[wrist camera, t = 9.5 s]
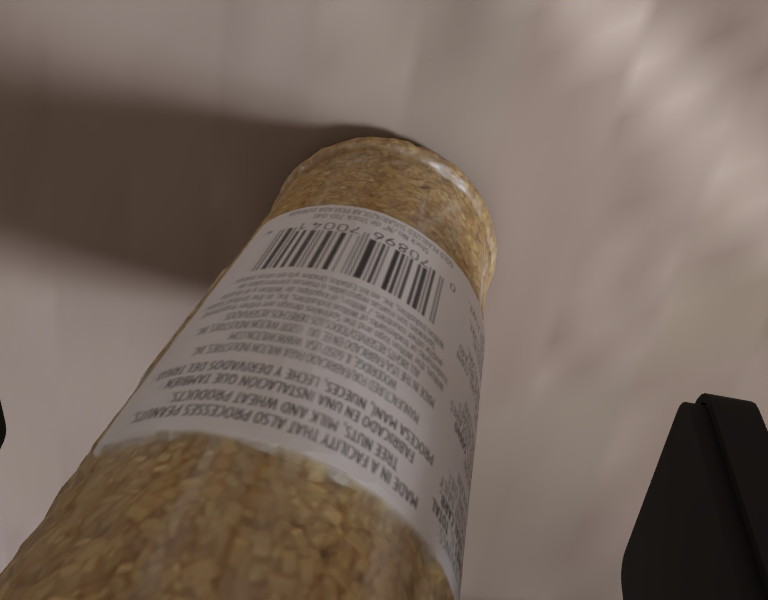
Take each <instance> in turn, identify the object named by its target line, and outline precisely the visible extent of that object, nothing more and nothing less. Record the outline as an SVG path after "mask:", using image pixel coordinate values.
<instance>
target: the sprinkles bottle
mask: <svg viewBox="0 0 768 600" xmlns="http://www.w3.org/2000/svg"><path fill="white" fill-rule="evenodd" d="M496 256H497V240H496V237H495V233H494V228H493V223H492V219H491V216H490V213H489V211H488V209H487V207H486V205H485V203H484V200H483V198H482V197H481V195H480V193H479V192H478V191H477V190H476V189H475V187H474V186H473V184H472V183H471V181H470V180H469V179H468V178H467V177H466V176H465V175H464V173H463V172H462V171H461V170H460V169H459V168H458V167H457V166H456V165H454V164H453V163H451V162H449V161H448V160H446V159H444V158H443V157H441V156H440V155H438V154H437V153H435V152H433V151H431V150H429V149H427V148H424V147H419V146H415V145H414V144H413V143H411V142H409V141H404V140H400V139H395V138H381V137H358V138H354V139H351V140H347V141H343V142H340V143H337V144H335V145H332V146H330V147H325V148H322V149H320V150H319V151H318V152H317V153H315V154H314V155H313V156H311V157H310V158H308V159H307V160H305V161H303V162H302V163H301V164H300V165H299V166H298V167H296V168H295V169H294V170H293V171H292V173H291V174H290V175H289V176H288V177H287V179H286V180H285V182H284V184H283V185H282V187H281V190H280V192H279V195H278V196H277V198H276V200H275V201H274V203H273V205H272V208H271V212H270V213H269V215H268V216H267V217H266V218H265V219H264V220H263V222H262V223H261V225H260V226H259V228H258V229H257V230H256V231H255V233H254V234H253V235H252V237H251V238H250V239H249V241H248V242H247V244H246V246H245V247H244V248H243V249H242V250H241V252H240V253H239V254H238V256H237V257H236V258H235V259H234V261H233V262H232V263H231V264H230V265H229V266H228V267H227V268H225V269H224V270H223V271H222V272H221V274H220V275H219V276H218V277H217V279H216V280H215V281H214V283H213V284H212V285H211V286H210V288H209V289H208V290H207V291H206V293H205V294H204V295H203V297H202V298H201V299H200V301H199V302H198V303H197V304H196V306H195V307H194V308H193V310H192V311H191V312H190V313H189V315H188V316H187V317H186V319H185V320H184V321H183V323H182V324H181V326H180V327H179V328H178V330H177V331H176V333H175V334H174V335H173V337H172V338H171V339H170V340H169V342H168V343H167V344H166V346H165V347H164V348H163V350H162V351H161V352H160V354H159V355H158V356H157V357H156V359H155V360H154V361H153V363H152V364H151V365H150V366H149V368H148V369H147V371H146V372H145V374H144V375H143V376H142V378H141V380H140V382H139V384H138V386H137V388H136V390H135V391H134V393H133V394H132V395H131V396H130V398H129V399H128V401H127V402H126V404H125V405H124V406H123V408H122V409H121V410H120V411H119V412H118V413H117V414H116V416H115V417H114V418H113V420H112V421H111V423H110V424H109V425H108V427H107V428H106V429H105V431H104V432H103V433H102V434H101V436H100V437H99V438H98V439H97V440H96V442H95V443H94V445H93V447H92V449H91V451H90V452H89V453H88V455H87V456H86V457H85V459H84V460H83V461H82V462H81V464H80V466H79V467H78V469H77V471H76V472H75V473H74V474H73V475H72V477H71V478H70V479H69V480H68V481H67V482H66V483H65V485H64V486H63V487H62V488H61V490H60V491H59V493H58V495H57V496H56V498H55V500H54V501H53V503H52V505H51V507H50V509H49V511H48V512H47V514H46V516H45V518H44V520H43V521H42V522H41V523H40V525H39V526H38V527H37V528H36V529H35V531H34V532H33V533H32V534H31V535H30V536H29V537H28V538H27V539H26V540H25V541H24V542H23V544H22V545H21V546H20V548H19V550H18V552H17V553H16V555H15V557H14V558H13V560H12V561H11V562H10V563H9V564H8V566H7V567H6V568H5V569H4V570H3V572H2V573H1V574H0V600H459V599H460V588H461V578H462V567H463V557H464V546H465V535H466V525H467V516H468V506H469V496H470V487H471V478H472V468H473V459H474V450H475V441H476V431H477V421H478V410H479V399H480V388H481V377H482V367H483V358H484V342H485V332H484V324H483V320H484V305H485V297H486V292H487V290H488V288H489V286H490V283H491V281H492V278H493V275H494V271H495V261H496Z"/></svg>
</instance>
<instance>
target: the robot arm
mask: <svg viewBox="0 0 768 600" xmlns="http://www.w3.org/2000/svg"><path fill="white" fill-rule="evenodd" d="M5 435H6V423H5V419H4V415H3V410H2V406H1V402H0V448H1V446H2V444H3V442H4V439H5ZM621 584H622V593H623V600H768V431H767V428H766V426H765V423H764V421H763V418H762V416H761V414H760V411H759V409H758V407H757V406H756V404H755V403H753V402H751V401H746V400H740V399H735V398H729V397H723V396H718V395H712V394H706V393H704V394H702V395H700V397H699V398H698V399H697V401H696V403H695V404H694V403H688V402H683V403H682V404H681V405H680V406H679V409H678V411H677V413H676V416H675V419H674V421H673V424H672V427H671V429H670V432H669V435H668V437H667V440H666V443H665V445H664V448H663V451H662V453H661V456H660V459H659V461H658V464H657V467H656V470H655V472H654V475H653V478H652V480H651V483H650V486H649V488H648V491H647V494H646V496H645V499H644V502H643V504H642V507H641V510H640V512H639V515H638V518H637V520H636V523H635V526H634V529H633V531H632V534H631V537H630V539H629V542H628V545H627V547H626V550H625V553H624V557H623V562H622V570H621Z"/></svg>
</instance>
